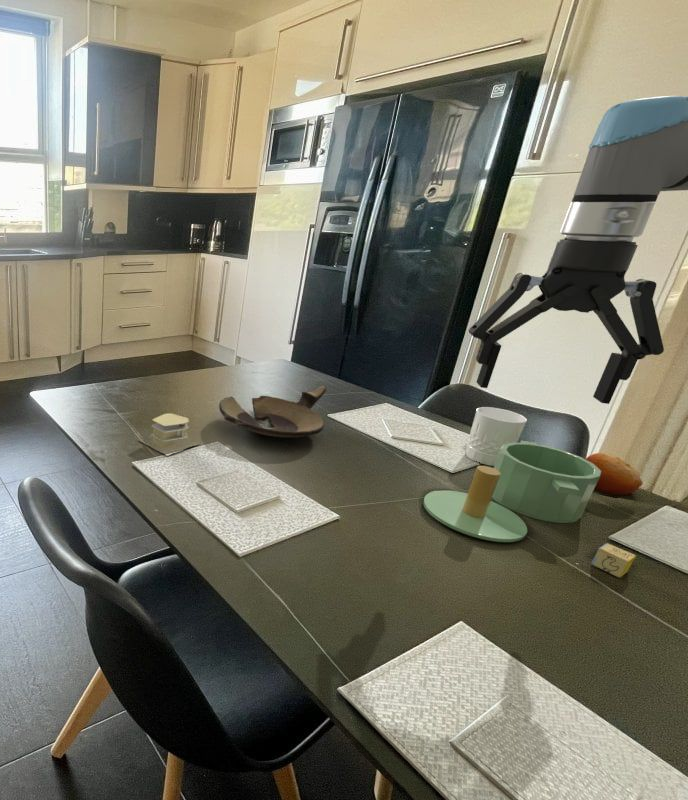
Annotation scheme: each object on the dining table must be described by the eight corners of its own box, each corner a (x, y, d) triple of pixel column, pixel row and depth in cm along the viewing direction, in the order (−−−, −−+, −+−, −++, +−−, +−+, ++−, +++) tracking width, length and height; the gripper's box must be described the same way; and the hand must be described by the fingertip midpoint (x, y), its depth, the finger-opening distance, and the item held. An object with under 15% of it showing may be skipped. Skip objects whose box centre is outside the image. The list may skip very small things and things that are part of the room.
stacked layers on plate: (167, 457, 99) (169, 432, 97) (137, 441, 105) (139, 417, 103) (200, 444, 104) (203, 421, 102) (170, 430, 111) (172, 407, 109)
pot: (556, 485, 90) (573, 444, 87) (603, 541, 75) (626, 494, 72) (474, 470, 95) (488, 431, 92) (502, 519, 80) (520, 475, 77)
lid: (509, 507, 83) (527, 460, 80) (538, 555, 72) (561, 502, 68) (416, 489, 89) (430, 444, 85) (429, 530, 77) (446, 480, 74)
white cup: (468, 446, 105) (482, 404, 101) (514, 460, 99) (531, 415, 96) (456, 457, 100) (471, 413, 97) (504, 472, 95) (521, 426, 91)
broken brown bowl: (198, 414, 120) (202, 385, 117) (309, 407, 125) (314, 379, 122) (240, 456, 99) (245, 422, 96) (370, 447, 104) (378, 414, 101)
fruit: (556, 466, 94) (599, 440, 90) (594, 494, 92) (640, 469, 88) (567, 485, 88) (614, 457, 83) (609, 516, 86) (659, 489, 82)
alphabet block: (598, 558, 71) (607, 541, 70) (628, 572, 69) (637, 554, 68) (590, 565, 70) (598, 548, 69) (619, 579, 67) (628, 561, 66)
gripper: (486, 236, 64) (441, 386, 72) (759, 244, 54) (672, 417, 62) (472, 234, 70) (432, 372, 78) (714, 240, 61) (641, 398, 68)
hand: (538, 392), depth 70 cm, fingers open, 13 cm apart
